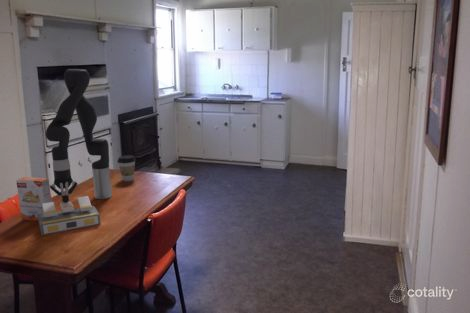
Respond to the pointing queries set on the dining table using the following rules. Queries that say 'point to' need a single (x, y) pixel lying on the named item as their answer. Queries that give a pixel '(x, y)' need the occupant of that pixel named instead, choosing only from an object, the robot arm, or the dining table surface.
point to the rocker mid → (67, 206)
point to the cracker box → (33, 196)
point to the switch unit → (68, 220)
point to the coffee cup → (127, 167)
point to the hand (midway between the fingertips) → (65, 202)
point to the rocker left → (49, 209)
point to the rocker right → (84, 203)
